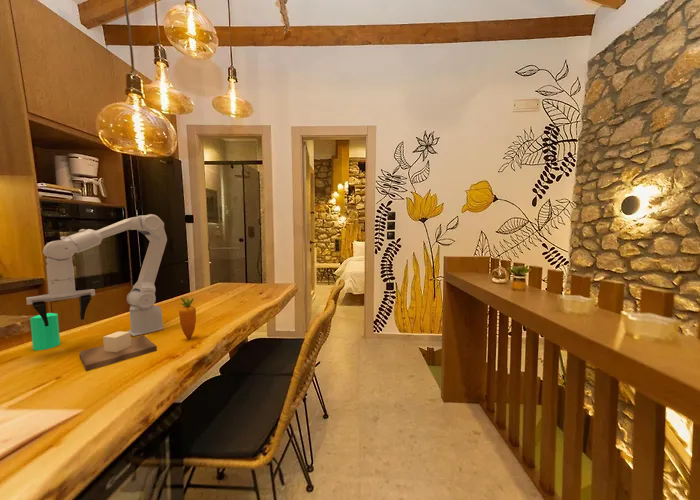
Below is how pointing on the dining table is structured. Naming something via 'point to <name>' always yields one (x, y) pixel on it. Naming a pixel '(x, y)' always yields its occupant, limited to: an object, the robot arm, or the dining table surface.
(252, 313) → the dining table surface
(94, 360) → the walnut board
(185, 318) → the carrot
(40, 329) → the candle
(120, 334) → the cube
